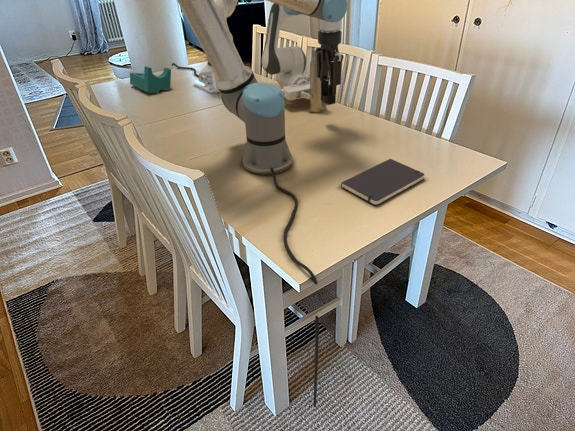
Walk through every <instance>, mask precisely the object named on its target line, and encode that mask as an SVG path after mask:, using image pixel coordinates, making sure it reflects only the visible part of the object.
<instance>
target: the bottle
mask: <svg viewBox="0 0 575 431" xmlns="http://www.w3.org/2000/svg"><path fill="white" fill-rule="evenodd" d="M316 48H317V47H315V48H312V57H311V61H310V62H309V75H310V94H312V99H309V112H311V113H315V114H316V113H317V114H318V113H320V112H322V108H323V107H322V106H323V101H322V100H321V81H320V78H318V77H317V53H316Z"/></svg>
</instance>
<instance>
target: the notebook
mask: <svg viewBox="0 0 575 431" xmlns="http://www.w3.org/2000/svg"><path fill="white" fill-rule="evenodd" d="M424 176H425V173H424V172H422V171H420V170H417V169H415V168H413V167H410V166H408V165H406V164H404V163H401V162H399V161H397V160H395V159H393V158H389V159H387V160H385V161H382V162H380V163H379V164H377V165H375V166H372V167H370V168H368V169H366V170H364V171H362V172H360V173H358V174H356V175H353V176H351V177H350V178H348V179H345V180H344V181H341V182H340V183H341V184H340V187H341V188H342V189H344V190H345V191H347V192H349V193H350V194H353V195H355V196H356V197H358V198H360V199H362V200H363V201H365V202H367V203H369V204H371V205H373V206H379V205H381V204H382V203H384V202H386V201H388V200H390V199H391V198H393V197H395V196H397V195H398V194H400V193H402V192H404V191H406V190H407V189H409V188H411V187H413V186H415V185H416V184H418V183H420V182H422V181H423V180H424Z"/></svg>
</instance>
